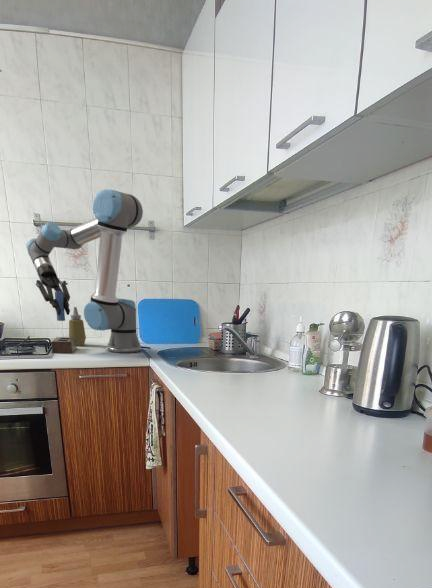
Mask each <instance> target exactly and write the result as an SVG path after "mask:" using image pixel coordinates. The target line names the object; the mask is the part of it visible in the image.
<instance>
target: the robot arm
mask: <svg viewBox="0 0 432 588" xmlns="http://www.w3.org/2000/svg"><path fill="white" fill-rule="evenodd" d="M92 202H93V203H92V211H93V214H94V218H92V219H89V220H87V221H86V222H84V223H80V224H79V225H77V226H74V227H72V228H69V229H61V228H60V226H59V225H58V224H56V223H54V222H53V221H48V222H45V224H44V225H43V226H42V228H41V230H40V232H39V234H38V235H37V236H36V238H31V239H30V240H28V241H27V243H26V249H27V254H28V255H29V257H30V259H31V262H32V264H33V266H34V269H35V271H36V273H37V276H38V278H39V279H36V281H35V286H36V287H37V288H38V289H39V292H40V293H41V296H42V297H43V299H44V301H45V302H49V304H50V305H51V306H52V307H51V308H53V309H55V311H56V312H57V313H56V315H57V314H58V315H60V313H61V309H60V307H59V305H58V303H57V300H56V299H55V296H54V293H53V290H54V292H56V291H58V292H63V299H64V312H65V315H66V316H69V315H70V312H71V309H70V303H69V302H70V300H71V295H70V292H69V289H68V287H67V281H66V280H63V281H62V280H60V278H59V277H58V275H57V272H56V270H55V268H54V266H53V263H52V261H51V259H50V256H49V255H50V254H51V253H52V251H53V250H54V248H58V249H59V248H60V249H68V250H70V249H71V250H80V249H81V248H82V247H83V246H84V245H85V244H87V243H90V242H91V241H94V240H97V239H99V247H98V255H97V266H96V267H97V268H96V278H95V279H96V280H95V289H94V292H93V293H92V294H91V295H90V302H88V303H86V305H84V307H83V318H84V320H85V322H86V323H87V325H88V326H89V327H90V328H91V329H92V330H94V331H107V330H110V337H109V341H108V343H107V351H108V352H111V353H120V354H121V353H122V354H123V353H124V354H127V353H128V354H131V353H139V352H141V351H142V350H141V349H148V350H151V348H152V347H151V346H150V347H149V346H142V345H141V344H140V341H139V337H138V334H137V306H136V302H135V301H134V300H133V299H126V298H118V297H117V295H116V294H117V287H118V278H119V269H120V262H121V261H120V260H121V253H122V252H121V251H122V243H123V236H124V235H125V234H126V233H127V232H128V229H131V228H134V227H136V226H137V225H138V224H140V222H141V221H142V218H143V215H144V210H143V206H142V203H141V202H140V200H139V199H138V198H137V197H136V196H135V195H133V194H130V193H126V192H122V191H118V190H115V189H107V188H106V189H105V188H104V189H102V190H100V191H99V192H98V193H97V194H96V195H95V197H94V199H93V201H92Z"/></svg>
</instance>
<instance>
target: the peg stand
mask: <svg viewBox="0 0 432 588" xmlns="http://www.w3.org/2000/svg"><path fill="white" fill-rule="evenodd" d="M50 343H51V353H52V354H73V353H75V351H76V350H77V346H76V338H75V337H69V336H68V337H67V336H66V337H65V336H64V337H63V336H56V337H55V338H54V339H53V340H51V342H50Z"/></svg>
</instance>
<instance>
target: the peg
mask: <svg viewBox="0 0 432 588" xmlns="http://www.w3.org/2000/svg"><path fill="white" fill-rule="evenodd" d="M54 299H56V300H57V303H58V305H59V307H60V309H61V313H60V315H58V314H57V312H56V321H57V322H65V321H66V311H65V309H64V299H63V292H58V291H54Z"/></svg>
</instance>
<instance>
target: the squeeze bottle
mask: <svg viewBox="0 0 432 588" xmlns="http://www.w3.org/2000/svg"><path fill="white" fill-rule="evenodd" d="M68 337H75V338H76V347H82V346H85V342H86V339H87V336H86V331H85V324H84V320H83V319H82V315H81V314H79V312H78V308H77V306H73V311H72V314H70V319H69V320H68Z"/></svg>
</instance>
